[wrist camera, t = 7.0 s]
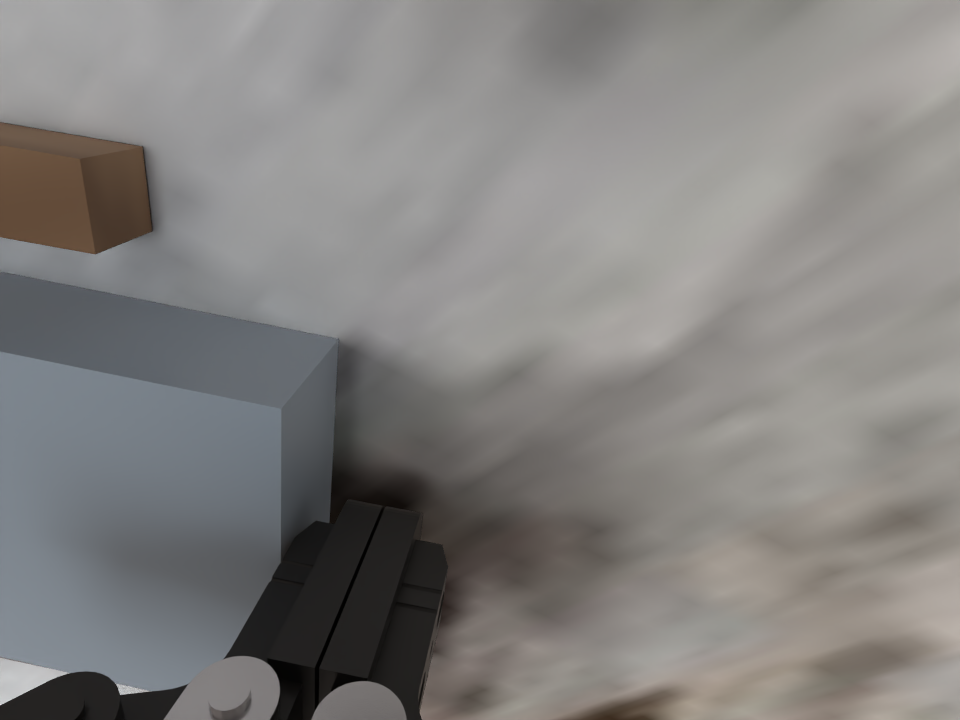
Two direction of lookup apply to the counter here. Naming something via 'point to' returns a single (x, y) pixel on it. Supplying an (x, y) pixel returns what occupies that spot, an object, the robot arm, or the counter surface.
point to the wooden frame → (71, 190)
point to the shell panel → (149, 476)
